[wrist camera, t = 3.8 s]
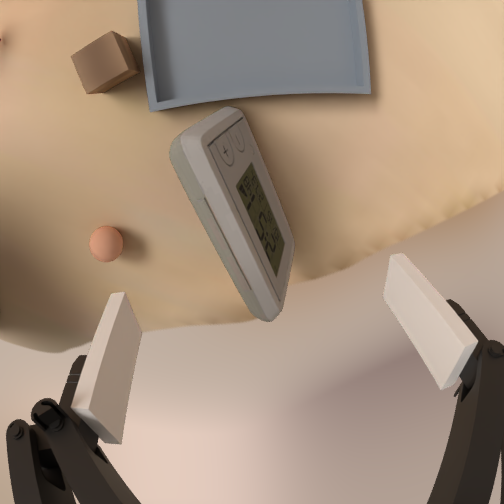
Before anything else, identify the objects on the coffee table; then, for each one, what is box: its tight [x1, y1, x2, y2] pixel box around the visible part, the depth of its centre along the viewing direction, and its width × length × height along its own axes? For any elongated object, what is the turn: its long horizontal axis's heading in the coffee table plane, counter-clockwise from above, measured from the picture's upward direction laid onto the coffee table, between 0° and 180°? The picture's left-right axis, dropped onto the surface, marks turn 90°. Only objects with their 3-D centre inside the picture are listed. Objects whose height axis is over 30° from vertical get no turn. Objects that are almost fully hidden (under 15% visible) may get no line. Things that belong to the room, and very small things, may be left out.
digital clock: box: [169, 106, 295, 322], centre depth 24 cm, size 16×9×11 cm, turn 11°
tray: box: [137, 0, 371, 112], centre depth 20 cm, size 13×19×2 cm
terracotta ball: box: [89, 226, 123, 262], centre depth 28 cm, size 4×4×4 cm
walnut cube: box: [71, 31, 140, 94], centre depth 20 cm, size 4×4×4 cm
